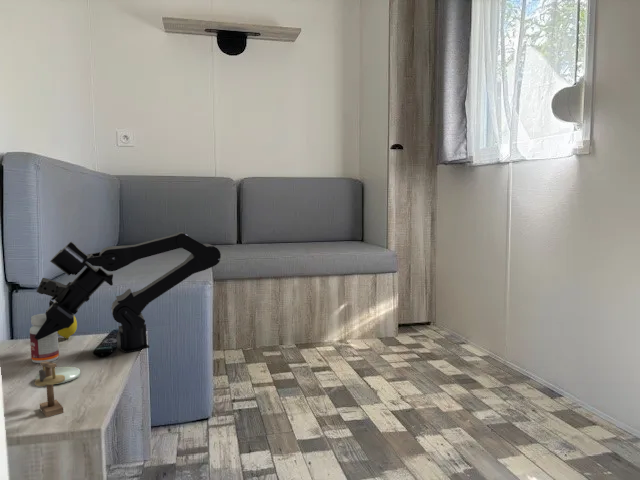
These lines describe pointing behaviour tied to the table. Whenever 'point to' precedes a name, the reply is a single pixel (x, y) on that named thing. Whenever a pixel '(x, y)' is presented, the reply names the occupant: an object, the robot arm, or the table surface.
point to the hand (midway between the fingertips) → (37, 334)
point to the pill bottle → (42, 342)
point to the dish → (66, 373)
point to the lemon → (68, 330)
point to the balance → (49, 388)
